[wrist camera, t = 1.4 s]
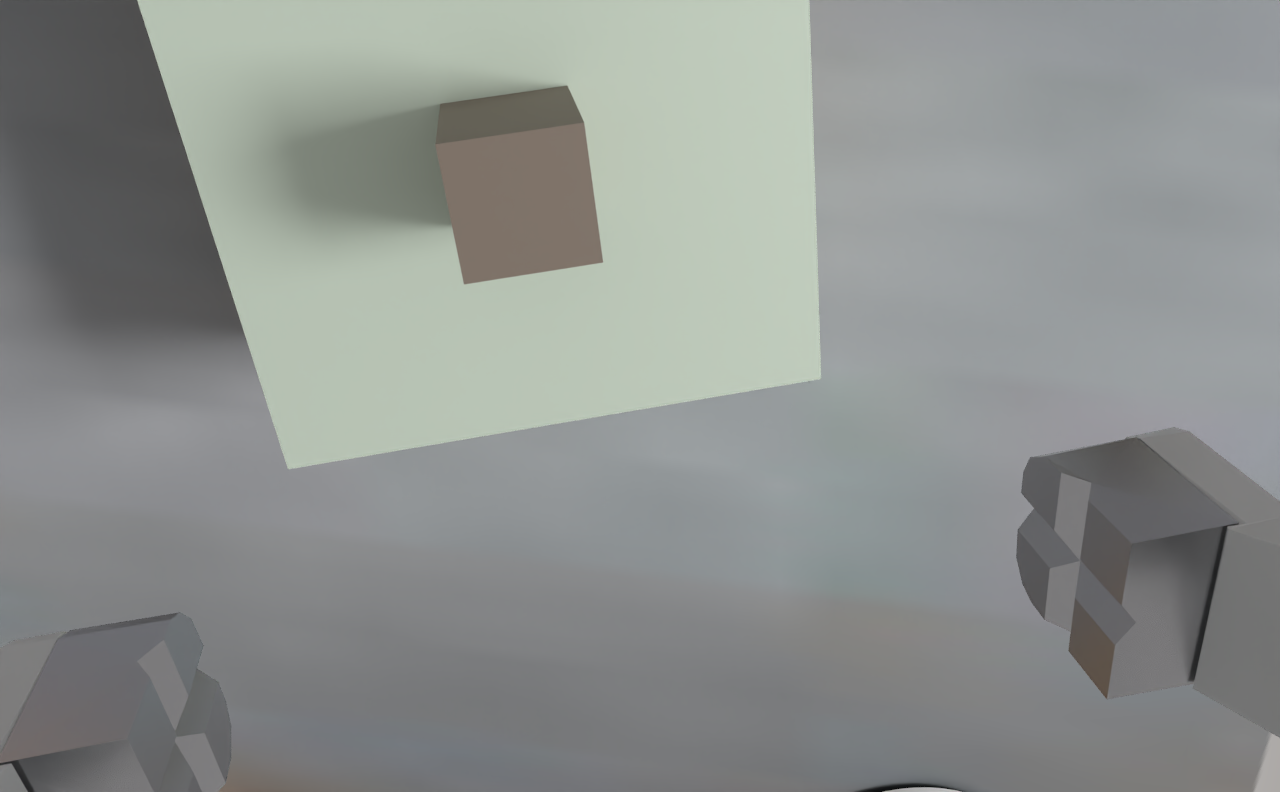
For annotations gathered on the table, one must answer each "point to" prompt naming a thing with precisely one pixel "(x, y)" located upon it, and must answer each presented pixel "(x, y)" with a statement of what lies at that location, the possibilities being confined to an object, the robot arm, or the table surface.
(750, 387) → the lid
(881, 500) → the table surface
